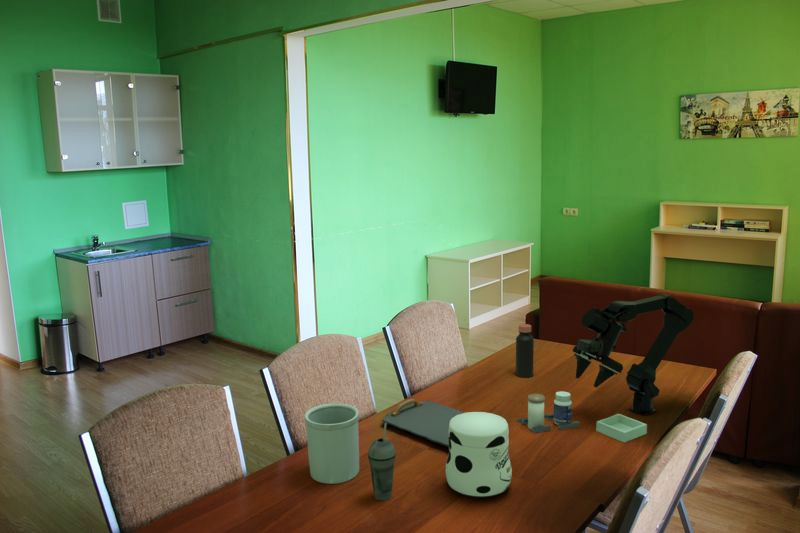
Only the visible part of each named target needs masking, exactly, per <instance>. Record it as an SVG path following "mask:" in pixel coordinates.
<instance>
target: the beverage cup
mask: <svg viewBox="0 0 800 533" xmlns="http://www.w3.org/2000/svg"><path fill="white" fill-rule="evenodd" d="M386 424H387V423H384V426H383V436H382V438H377V439H374V440H373V441H372V442H371V444H370V445H369V448H368V453H367V457H368V461H369V462H368V463H369V465H370V473H371V483H372V489H373V495H374V496H373V497H374V499H376V500H378V501H388V500H390V499H391V498H392V497H393V496H392V493H393V483H394V468H395V461H396V455H397V453H396V449H395V446H394V444H393V443H392V442H391V441H390V440H389V439H387V438H386V434H387V433H386V432H387V426H386Z"/></svg>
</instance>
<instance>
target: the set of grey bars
mask: <svg viewBox="0 0 800 533" xmlns="http://www.w3.org/2000/svg"><path fill="white" fill-rule="evenodd" d="M553 416H554V412H553V413H547V414H544V419H545V420H547V421H552V420H553ZM515 421H516V422H517V423H518V422H521V424H522V425H528V416H527V417H521V418H516V419H515ZM580 423H581V422H580V421H579V420H576V421H575V420H574V421H571V422H568V423H562V424H558V425H557V426H558V430H567V429H572V428H578V427H579V428H580ZM551 428H552V426H551V424H544V426H538V427H532V429H531V433H533V434H537V433H543V432H550V431H552V430H551Z"/></svg>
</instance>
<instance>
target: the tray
mask: <svg viewBox="0 0 800 533" xmlns="http://www.w3.org/2000/svg"><path fill="white" fill-rule="evenodd" d="M595 427H596V429H595V431H596V432H598V433H599V434H603V435H605V436H608V437H610V438H611V439H615V440H617V441H620V442H622V443H627V442H630V441H632V440H634V439H637V438H639V437H642V436H644V435H647V433H648V431H647V430H648V424H647V423H644V422H642V421H639V420H637V419H635V418H631V417H628V416H627V415H623V414H621V413H616V414H614V415H611V416H609V417H606V418H602V419H600V420H597V421H596V426H595Z"/></svg>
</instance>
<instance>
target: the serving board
mask: <svg viewBox="0 0 800 533" xmlns="http://www.w3.org/2000/svg"><path fill="white" fill-rule="evenodd" d="M463 413H466V411H465V412H464V411H461V410H458V409H456V408H451V407H449V406H447V405H443V404H440V403H437V402H434V401H432V400H431V401H430V400H423V401H418V400H417V399H415V398H411V399H407V400H404V401H402V402H400V403H399V404H398V405H396V408H395V409H394V410H392V411H390V412H388V413H387V414H386V415H384V417H383V418H382V420H381V422H382V423H384V424H385V423H387V424H386V427H391V426H392V427H395V428H397V429H400V430H401V431H406V432H409V433H410V434H413V435H415V436H417V437H420V438H423V439H425V440H429V441H430V442H433V443H436V444H439V445H441V446H444V447H446V448H449V423H450V421H451V419H452V418H453V417H455V416H456V415H459V414H463Z"/></svg>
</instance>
